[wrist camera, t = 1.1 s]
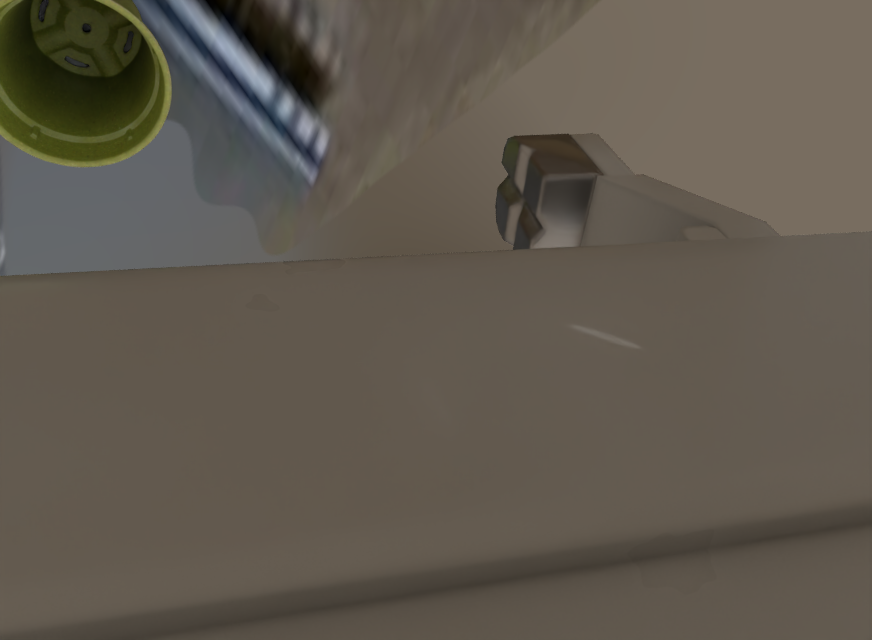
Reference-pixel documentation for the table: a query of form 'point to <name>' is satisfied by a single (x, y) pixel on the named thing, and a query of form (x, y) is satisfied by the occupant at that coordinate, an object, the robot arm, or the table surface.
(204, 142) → the table surface
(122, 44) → the plant pot
